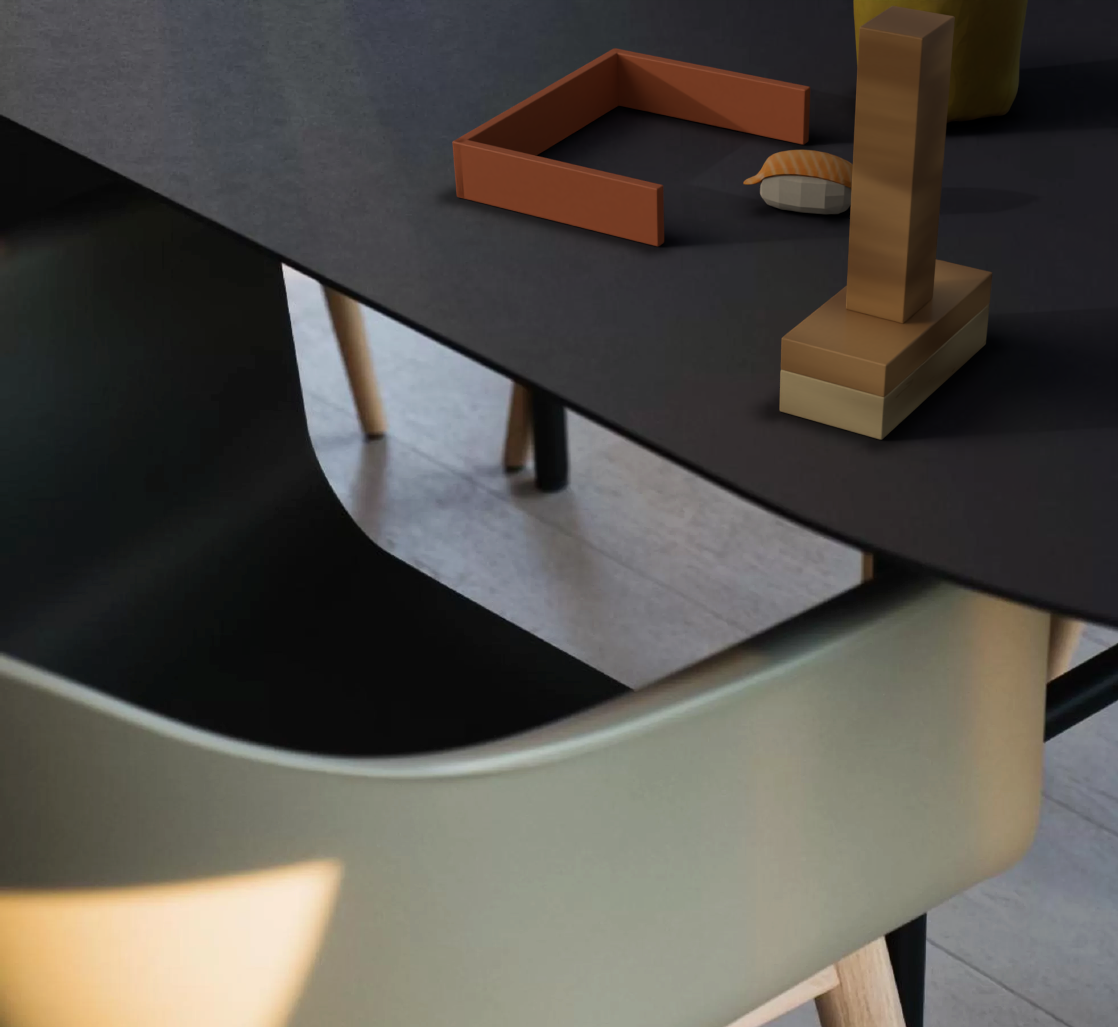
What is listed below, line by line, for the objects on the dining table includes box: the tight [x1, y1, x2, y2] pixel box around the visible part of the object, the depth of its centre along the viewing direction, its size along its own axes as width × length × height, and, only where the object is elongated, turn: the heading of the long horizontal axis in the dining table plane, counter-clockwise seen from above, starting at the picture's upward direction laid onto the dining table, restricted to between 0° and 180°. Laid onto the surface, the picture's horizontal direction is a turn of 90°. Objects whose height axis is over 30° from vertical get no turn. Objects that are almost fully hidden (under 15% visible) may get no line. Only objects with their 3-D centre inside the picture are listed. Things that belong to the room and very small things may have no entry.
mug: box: [852, 0, 1029, 124], centre depth 113 cm, size 12×10×10 cm
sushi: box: [743, 149, 853, 215], centre depth 104 cm, size 3×6×3 cm, turn 70°
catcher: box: [452, 47, 811, 247], centre depth 109 cm, size 13×15×3 cm
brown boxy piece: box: [779, 6, 993, 441], centre depth 86 cm, size 10×5×16 cm, turn 145°
